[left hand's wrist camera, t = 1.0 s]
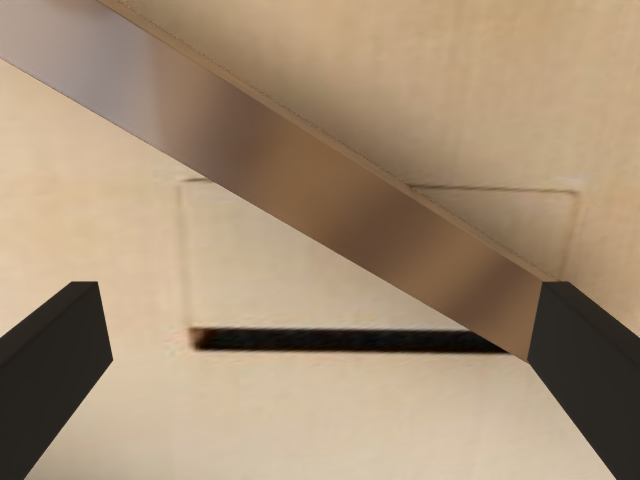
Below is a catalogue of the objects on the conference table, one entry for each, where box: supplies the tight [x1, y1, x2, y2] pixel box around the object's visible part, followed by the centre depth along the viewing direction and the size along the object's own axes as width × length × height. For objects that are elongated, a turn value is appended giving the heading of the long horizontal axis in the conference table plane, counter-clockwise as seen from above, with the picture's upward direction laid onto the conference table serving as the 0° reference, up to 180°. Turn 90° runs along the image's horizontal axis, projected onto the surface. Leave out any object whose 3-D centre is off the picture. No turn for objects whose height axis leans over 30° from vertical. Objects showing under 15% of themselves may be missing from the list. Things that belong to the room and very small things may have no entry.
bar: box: [0, 0, 559, 364], centre depth 29 cm, size 61×6×7 cm, turn 58°
